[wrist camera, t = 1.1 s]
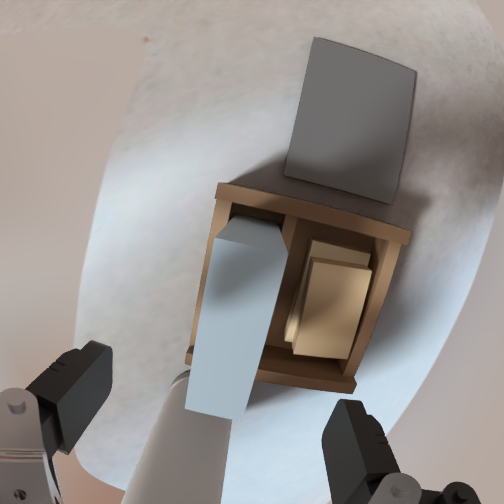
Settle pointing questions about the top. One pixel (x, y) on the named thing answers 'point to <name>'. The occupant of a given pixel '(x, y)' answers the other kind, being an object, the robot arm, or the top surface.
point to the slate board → (235, 315)
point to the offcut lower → (314, 249)
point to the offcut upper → (330, 308)
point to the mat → (351, 122)
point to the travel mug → (181, 455)
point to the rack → (296, 241)
